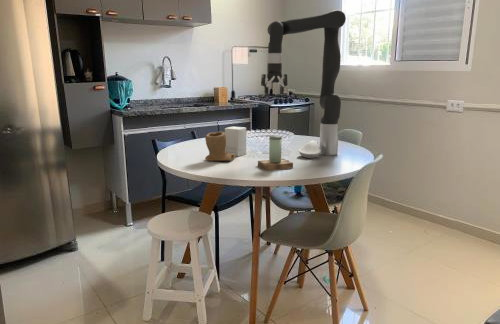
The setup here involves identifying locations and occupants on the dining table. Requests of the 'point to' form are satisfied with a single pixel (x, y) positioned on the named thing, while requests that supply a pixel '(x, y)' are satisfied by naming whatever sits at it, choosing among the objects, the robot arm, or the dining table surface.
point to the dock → (275, 165)
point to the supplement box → (235, 140)
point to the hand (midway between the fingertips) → (274, 94)
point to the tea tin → (275, 148)
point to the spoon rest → (310, 150)
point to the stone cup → (217, 147)
